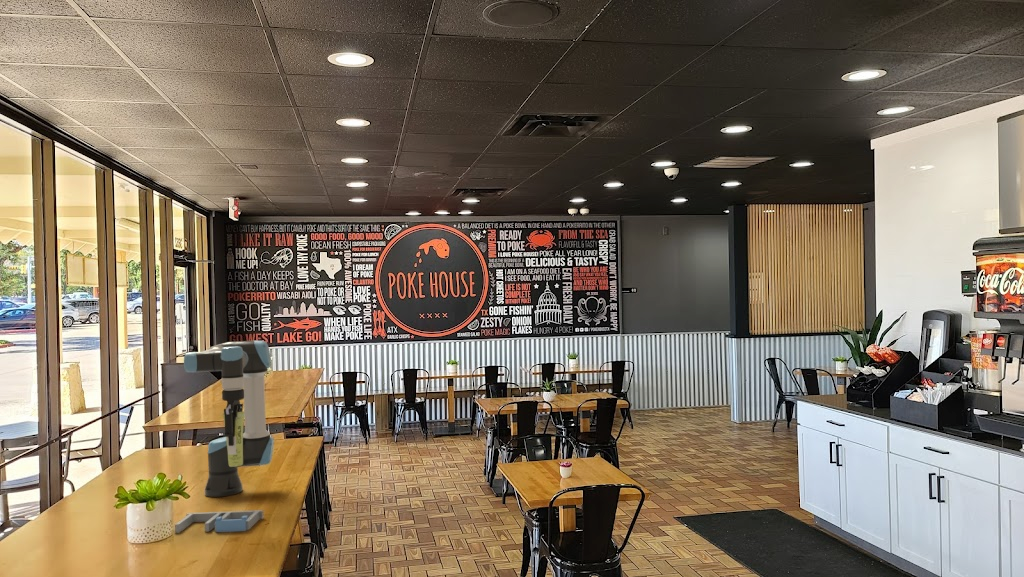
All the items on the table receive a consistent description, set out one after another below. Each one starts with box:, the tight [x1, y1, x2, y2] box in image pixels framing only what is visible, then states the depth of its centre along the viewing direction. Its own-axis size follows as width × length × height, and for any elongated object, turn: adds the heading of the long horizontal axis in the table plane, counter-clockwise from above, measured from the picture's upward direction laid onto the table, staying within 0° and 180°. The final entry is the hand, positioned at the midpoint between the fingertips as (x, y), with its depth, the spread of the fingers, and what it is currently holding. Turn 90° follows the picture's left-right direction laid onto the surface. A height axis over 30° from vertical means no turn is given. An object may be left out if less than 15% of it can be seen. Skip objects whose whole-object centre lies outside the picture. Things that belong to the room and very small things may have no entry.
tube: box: [222, 411, 245, 467], centre depth 272 cm, size 6×5×20 cm
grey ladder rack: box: [174, 509, 264, 534], centre depth 273 cm, size 15×28×5 cm, turn 92°
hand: (234, 452), depth 272 cm, fingers closed on tube, 5 cm apart
